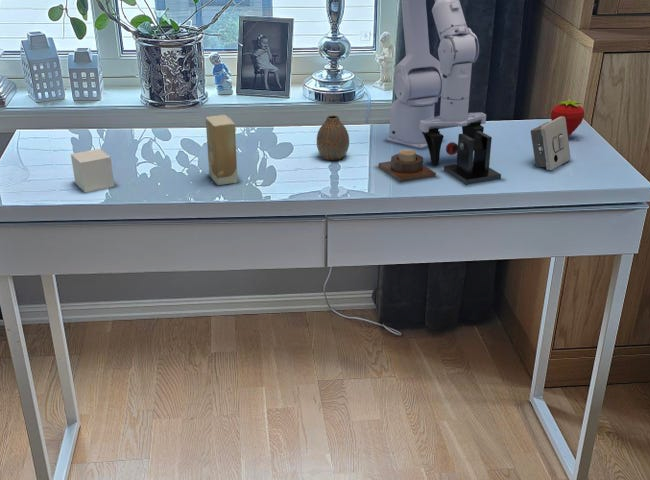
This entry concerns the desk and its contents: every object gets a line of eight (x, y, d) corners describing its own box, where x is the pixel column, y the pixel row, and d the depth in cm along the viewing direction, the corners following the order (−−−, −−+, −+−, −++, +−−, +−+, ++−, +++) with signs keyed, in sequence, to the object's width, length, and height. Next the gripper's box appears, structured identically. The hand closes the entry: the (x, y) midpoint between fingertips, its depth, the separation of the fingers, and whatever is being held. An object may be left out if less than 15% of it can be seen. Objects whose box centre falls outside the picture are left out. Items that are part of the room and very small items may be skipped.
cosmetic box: (208, 175, 183) (204, 116, 176) (229, 172, 184) (225, 113, 178) (217, 186, 178) (213, 125, 171) (238, 183, 179) (235, 122, 173)
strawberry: (544, 134, 206) (549, 90, 201) (576, 133, 206) (583, 89, 201) (551, 142, 201) (557, 97, 196) (584, 141, 201) (591, 96, 196)
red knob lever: (444, 156, 189) (442, 143, 188) (455, 154, 190) (453, 142, 189) (473, 151, 178) (471, 137, 178) (484, 149, 179) (482, 136, 178)
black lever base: (443, 171, 185) (446, 131, 181) (477, 165, 188) (480, 126, 183) (466, 185, 178) (469, 144, 174) (500, 179, 181) (504, 139, 176)
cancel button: (395, 158, 184) (395, 150, 183) (410, 156, 185) (411, 148, 184) (403, 164, 181) (403, 155, 180) (419, 161, 182) (419, 153, 181)
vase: (353, 154, 194) (353, 113, 189) (343, 164, 189) (343, 123, 184) (323, 150, 196) (322, 110, 191) (312, 160, 190) (311, 119, 186)
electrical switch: (550, 172, 184) (552, 127, 180) (527, 169, 187) (528, 124, 183) (570, 160, 191) (573, 116, 186) (548, 158, 194) (550, 114, 189)
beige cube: (75, 183, 179) (70, 153, 176) (104, 177, 182) (100, 148, 179) (85, 192, 175) (80, 162, 172) (114, 186, 178) (110, 157, 175)
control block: (378, 167, 187) (378, 153, 185) (412, 162, 190) (412, 148, 188) (400, 183, 179) (401, 168, 178) (435, 177, 182) (436, 163, 180)
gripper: (433, 105, 177) (429, 171, 184) (496, 97, 182) (490, 162, 189) (416, 96, 182) (413, 161, 189) (477, 88, 187) (472, 151, 194)
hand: (450, 160), depth 189 cm, fingers open, 7 cm apart
